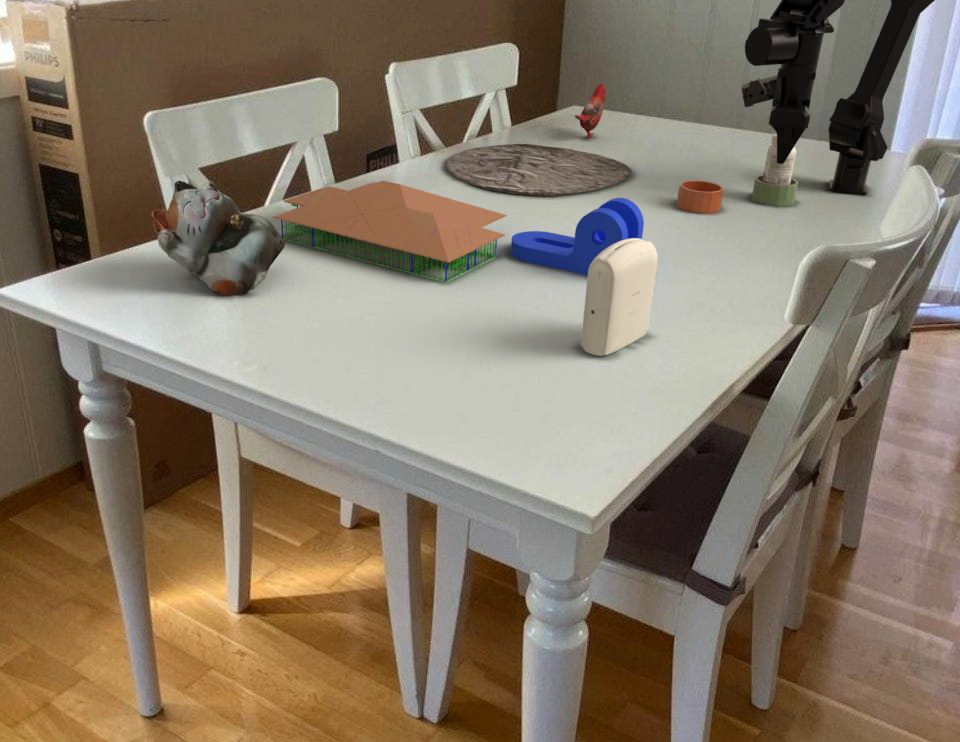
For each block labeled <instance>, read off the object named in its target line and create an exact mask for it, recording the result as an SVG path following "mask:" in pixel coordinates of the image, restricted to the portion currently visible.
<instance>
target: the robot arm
mask: <svg viewBox="0 0 960 742" xmlns="http://www.w3.org/2000/svg"><path fill="white" fill-rule="evenodd" d="M845 1H846V0H781V1H780V2H779V3H778V5H777V7H776V8H775V10H774V11H773V13H772V14H771V16H770V18H764V17H763V18H759V19H758V23H757V26H756V27H755V28H753V29H752V30H751V31H750V33H749V34H748V36H747V38H746V39H745V41H744V42H745V43H744V54H745V58H746V60H747V62H748V63H749V64H750V65H752V66H754V67H760V66H761V67H762V66H774V65H775V66H776V65H780V67H778V71H777V74H776V75H773V76H769V77H763V78H756V79H755V80H752V79H751V80H750V81H749V82H746V83H744V84H742V86H741V93H742V99H743V105H744V108H749V107H753V106H754V105H757V104H761V103H763V102H767V101H771V100H772V101H771V108H770V115H769V120H768V125H769V126H770V127H772V129H773V130H774V131H775V134H776V133H777V163H778V164H784V162H785V161H786V159H787V157H788V156H789V154H790V152H791V151H792V149H793V148H795V147H796V145H797V143H798V141H800V139H801V137H802V135H803V134H804V132H805V131H806V129H809V124H810V119H811V111H810V105H811V101H812V100H811V99H812V94H813V89H814V84H815V80H816V77H817V70H818V65H819V60H820V55H821V50H822V45H823V39H824V35H825V34H833V33H834V32H835V28H834V27H833V25H832V24H831V23H830V21H829V18H830V17H832V16H833V14H834V13H836V12H837V11H838V10H839V9H841V8H842V7H843V6H844V4H845ZM935 1H936V0H890V7H889V9H888V12H887V14H886V16H885V19H884V21H883V24H882V26H881V29H880V31H879V33H878V36H877V38H876V41H875V42H874V46H873V48H872V50H871V52H870V55H869V57H868V59H867V61H866V64H865V67H864V69H863V72H862V74H861V76H860V78H859V80H858V83H857V86H856V88H855V90H854V92H852V93H851V94H850V95H849V96H848V97H847V98H843V97H840V98H839V99H838V100H837V101H836V102H837V103H836V105H835V108H834V111H833V113H832V115H831V116H830V118H829V120H828V121H829V126H828V130H827V132H828V144H829V145H828V146H829V151H831V152H837V153H838V157H837V161H836V167H835V169H834V170H835V171H834V174H833V179H829V191H832V192H839V193H840V192H841V193H848V194H857V195H868V188H867V179H868V175H869V171H870V168H871V167H870V166H871V163H872V162H878V161H879V160H882V159H883V158H884V156H885V154H886V152H887V151H888V145H887V143H886V141H885V137H884V136H883V133H882V132H881V131H882V127H883V125H884V121H885V112H884V98H885V96H886V93H887V91H888V89H889V86H890V85H891V82H892V80H893V77H894V75H895V72H896V70H897V68H898V65H899V64H900V61H901V58H902V57H903V54H904V51H905V49H906V47H907V45H908V42H909V40H910V38H911V36H912V33H913V30H914V29H915V26H916V24H917V22H918V19H919V17H920V15H921V13H923V12H924V11H925V10H927V8H928V7H929V6H930V5H931V4H933V3H934V2H935Z"/></svg>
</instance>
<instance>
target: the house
mask: <svg viewBox="0 0 960 742" xmlns="http://www.w3.org/2000/svg"><path fill="white" fill-rule="evenodd" d="M283 203H287V204H291V206H293V207H296V208H293V209H290V210H287V211H285V212H282V213H279V214H276V215H273V216H272V218H273V219H277V220H279V221H280V226H281V237H283V238H285V240H286V241H289V242H293V243H296V244H300V245H304V246H307V247H311V248H315V249H318V250H323V251H327V252H330V253H334V254H338V255H341V256H345V257H349V258H353V259H357V260H360V261H364V262H367V263H372V264H375V265H379V266H383V267H387V268H390V269H394V270H397V271H401V272H405V273H409V274H413V275H416V276H419V277H424V278H428V279H431V280H436V281H439V282H443V283H448V282H449V281H452V280H453V279H456V278H458V277H460V276H461V275H464V274H465V273H468V272H470V271H471V270H473V269H476V268H477V267H479V266H482V265H483V264H485V263H487V262H489V261H491V260H493V259H495V258H497V246H498V240H499V239H501V238H502V237H503V238H504V237H505V236H506V234H505V233H502V232H499V231H495V230H491V229H487V228H484V227H486V226H488V225H490V224H492V223H494V222H497V221H499V220H501V219H503V218H505V217H507V214H504V213H500V212H498V211H493V210H491V209H487V208H483V207H480V206H476V205H474V204H469V203H466V202H463V201H459V200H456V199H452V198H449V197H445V196H442V195H439V194H436V193H431V192H429V191H424V190H422V189H418V188H415V187H411V186H407V185H404V184H401V183H397V182H391V181H387V180H380V181H376V182H370V183H366V184H364V185H360V186H358V187H355V188H352V189H349V190H347V189H342V188H338V187H335V186H329V185H328V186H324V187H321V188H318V189H314V190H312V191H309V192H306V193H302V194H300V195H297V196H293V197H289V198H287V199H284V200H283ZM305 227H306V228H305ZM309 228H311V229H309ZM301 229H302V230H301ZM288 231H290V232H288ZM305 231H307V233H306V232H305ZM310 231H311V233H310ZM287 232H288V234H287ZM301 233H303V243H302V242H301V239H299V242H298V241H297V234H299V235H298V236H299V237H301ZM306 235H307V238H308V239H307V241H308V243H307V244H306V238H305V237H306ZM324 235H325V236H324ZM293 236H294V239H295V240H293ZM310 236H311V242H312V243H311V245H310ZM328 236H329V238H328ZM342 236H343V237H344V238H343V237H342ZM289 237H290V239H289ZM332 237H333V238H332ZM315 238H316V240H315ZM337 239H339V240H337ZM351 239H352V240H353V245H352V244H351ZM325 240H326V241H325ZM342 240H343V241H344V242H341V241H342ZM346 240H348V243H346ZM355 240H357V245H355V247H356V248H357V255H358V257H355V253H356V252H353V256H351V247H354V244H355ZM360 241H362V247H361V246H360ZM328 242H330V250H328V249H326V248H325V249H324V244H325V246H328ZM332 242H335V243H334V245H335V250H337V243H339V252H337V251H333V248H332V247H333V243H332ZM364 242H366V243H367V246H366V247H367V248H366V247H364ZM369 243H370V244H371V249H369ZM341 244H343V245H344V250H346V245H348V255H347V254H345V253H344V254H343V253H342V245H341ZM320 245H321V247H320ZM374 245H376V250H374ZM379 246H381V247H385V249H386V251H385V252H381V251H379V249H378V248H379ZM388 248H389V249H390V250H391V251H390V254H388ZM483 248H484V249H483ZM360 249H362V258H360ZM364 250H366V251H370V252H371V261H369V260H366V259H365V251H364ZM393 250H395V255H393ZM477 250H478V251H477ZM398 251H400V257H398ZM374 252H375V253H376V262H374ZM403 252H405V255H407V258H403V255H402V253H403ZM407 253H408V254H407ZM378 254H381V255H385V257H386V258H385V259H386V260H385V263H386V265H385V264H382V263H379V255H378ZM388 256H390V266H388ZM464 256H465V257H464ZM393 257H394V258H395V267H393ZM413 258H414V259H413ZM423 258H424V259H423ZM398 259H400V268H398V263H397V262H398ZM420 259H421V262H420ZM464 259H465V260H464ZM402 260H405V261H407V270H405V269H404V270H403V268H402V267H403V265H402V262H403V261H402ZM423 260H424V263H423ZM433 264H436V265H441V267H438V266H433ZM476 264H477V265H476ZM413 265H414V268H413ZM420 265H421V267H420ZM443 266H444V268H443ZM427 267H431V268H435V269H441V270H442V271H444V280H443V273H441V278H440V279H438V271H436V275H435V277H436V278H433V270H431V271H430V272H431V274H430V276H431V277H429V276H428V270H426V271H425V273H426V274H425V275H423V273H421V274H418V273H417V272H419V271H420V270H423V269H424V268H427ZM454 269H455V273H454ZM451 270H452V272H451ZM460 270H461V271H460ZM457 271H458V275H457ZM460 272H461V273H460ZM454 275H455V277H454ZM447 279H448V280H447Z"/></svg>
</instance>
